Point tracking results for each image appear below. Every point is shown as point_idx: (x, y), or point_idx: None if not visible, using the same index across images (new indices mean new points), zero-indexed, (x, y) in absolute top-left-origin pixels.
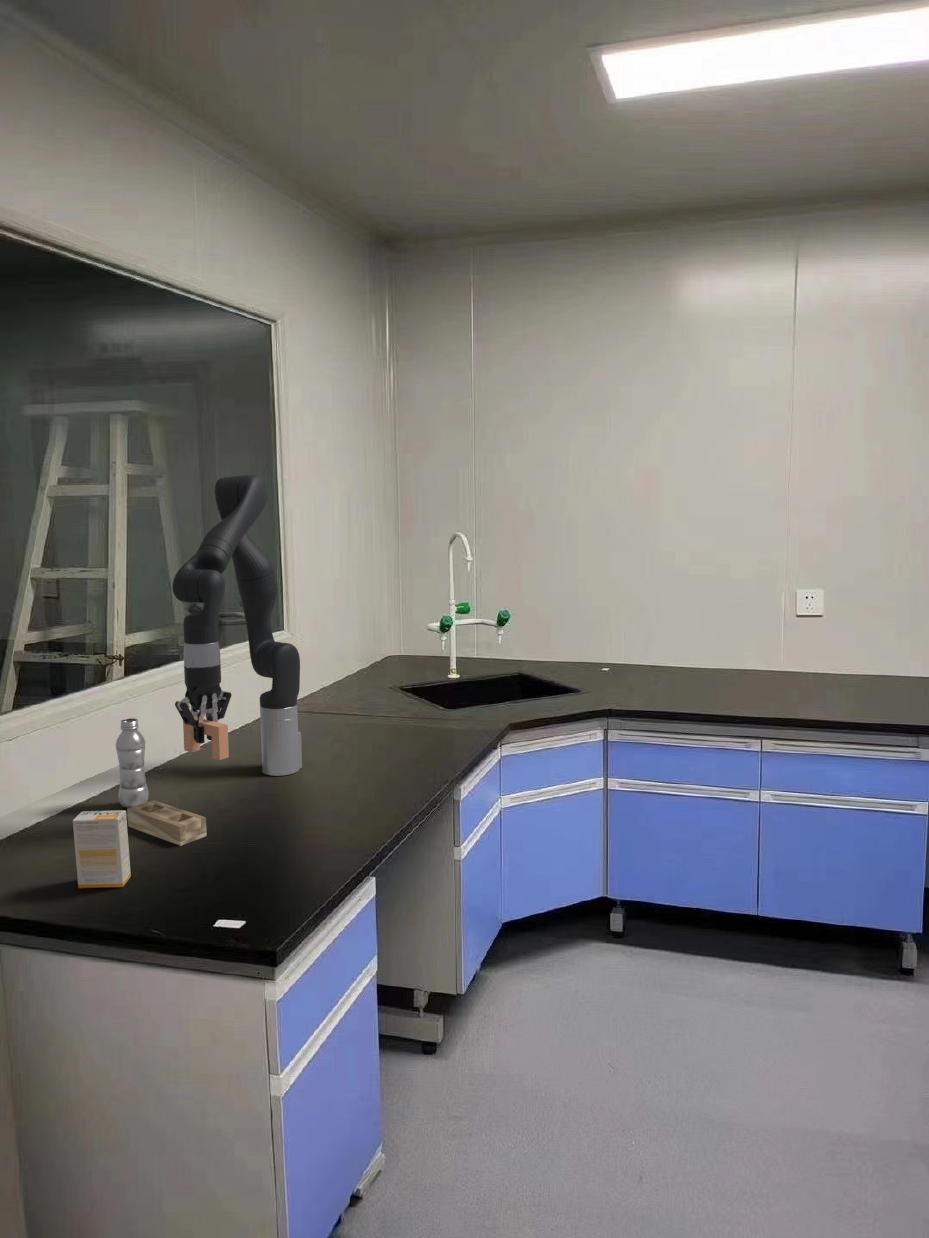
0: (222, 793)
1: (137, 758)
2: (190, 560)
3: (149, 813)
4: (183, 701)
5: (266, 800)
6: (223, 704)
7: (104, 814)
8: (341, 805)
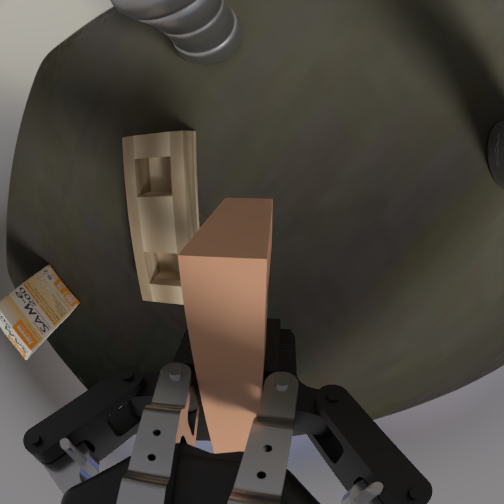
0: (381, 135)
1: (167, 26)
2: None
3: (135, 200)
4: (58, 477)
5: (391, 247)
6: (340, 478)
7: (13, 339)
8: (409, 351)
